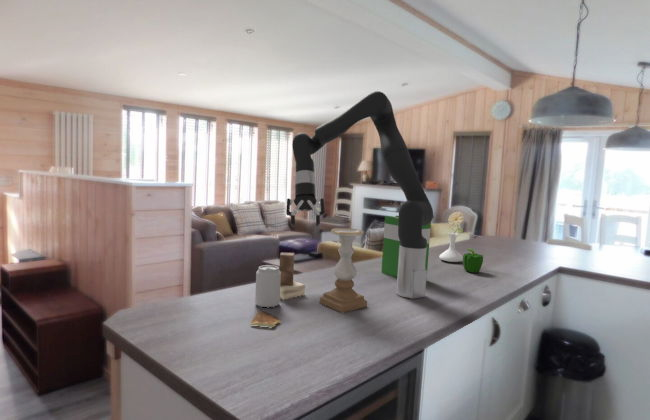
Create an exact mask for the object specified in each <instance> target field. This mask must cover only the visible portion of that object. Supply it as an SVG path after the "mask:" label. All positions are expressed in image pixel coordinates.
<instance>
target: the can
mask: <svg viewBox="0 0 650 420" xmlns="http://www.w3.org/2000/svg"><path fill="white" fill-rule="evenodd" d="M279 268H280V266H279V265H278V266H277V265H272V264H265V265H260V266H258V269H257V271H256V273H255V295H254V296H255V297H254V298H255V300H254V302H255V305H257V306H258V307H259V306H260V307H259V308H262V307H267V308H266V309H270V308H269V307H273V308H275V306H276V307H277V306H278V305H280V302H281V301H280V300H281V299H280V282H281V272H280V271H279Z"/></svg>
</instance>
